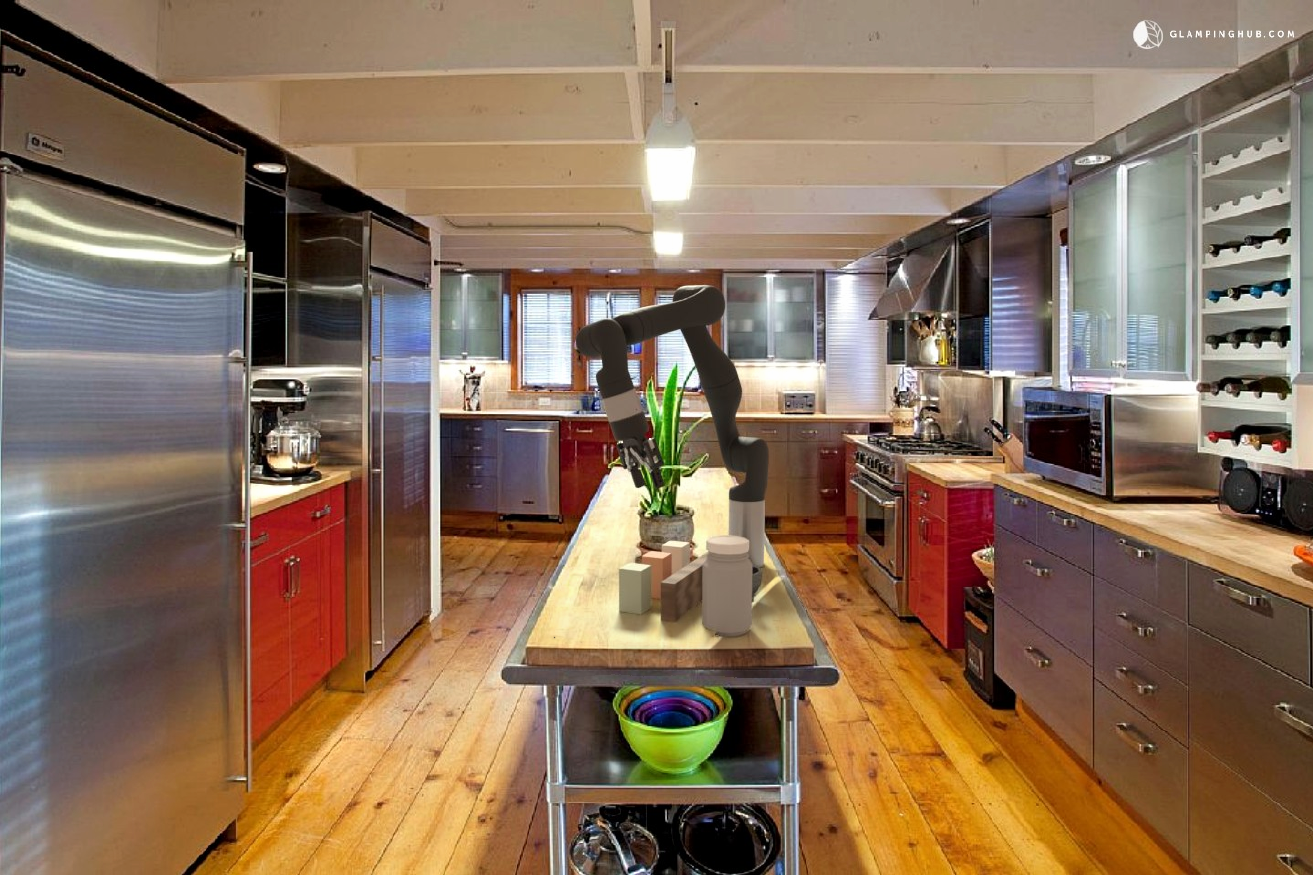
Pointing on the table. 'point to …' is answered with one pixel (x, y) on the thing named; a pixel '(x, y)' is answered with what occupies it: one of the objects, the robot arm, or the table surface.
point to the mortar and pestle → (756, 579)
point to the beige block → (678, 554)
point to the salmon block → (658, 570)
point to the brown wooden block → (682, 590)
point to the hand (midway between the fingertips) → (650, 487)
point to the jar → (727, 586)
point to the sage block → (635, 588)
